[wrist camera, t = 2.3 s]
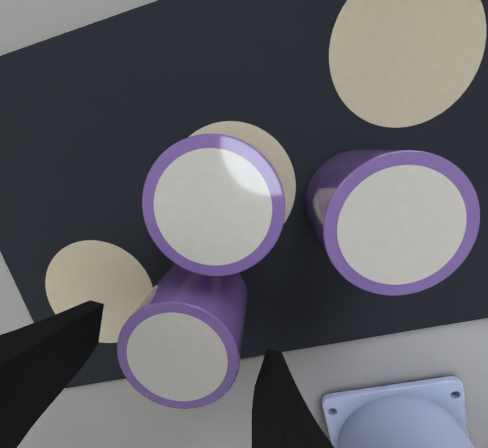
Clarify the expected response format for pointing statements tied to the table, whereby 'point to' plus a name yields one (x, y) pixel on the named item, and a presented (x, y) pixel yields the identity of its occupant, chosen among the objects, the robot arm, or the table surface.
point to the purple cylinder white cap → (393, 218)
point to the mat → (242, 127)
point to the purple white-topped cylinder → (214, 204)
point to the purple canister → (185, 338)
